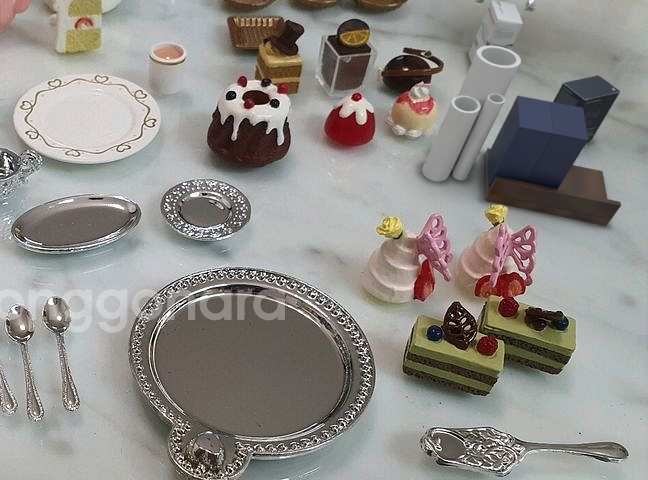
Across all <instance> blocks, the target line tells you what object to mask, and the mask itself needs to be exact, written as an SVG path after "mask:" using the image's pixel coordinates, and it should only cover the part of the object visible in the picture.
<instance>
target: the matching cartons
mask: <svg viewBox="0 0 648 480" xmlns="http://www.w3.org/2000/svg"><path fill="white" fill-rule="evenodd" d="M493 141H494V142H493V144H492V145H491V146H490V147H491V148H490V151H489V153H488V186H491V185H492V183H493V181H494V179H495V177H496V176H497V177H502V178H507V179H512V180H517V181H522V182H527V183H531V184H536V185H541V186H546V187H551V188H556V189H558V188H559V186H560V185H561V183H562V182H563V180H564V178H565V177H566V175H567V173H568V172H569V170H570V169H571V167H572V165H575V162H576V161H577V159H578V157H579V156H580V154H581V153H582V151H583V150H584V148H585V146H586V145H587V143H588V142H589V141H588V136H587V130H586V124H585V118H584V111H583V108H582V107H576V106H571V105H566V104H560V103H555V102H553V101H548V100H543V99H539V98H533V97H528V96H522V95H517V96H516V98H515V100H514V102H513V104H512V105H511V108H510V110H509V111H508V114H507V116H506V118H505V120H504V121H503V124H502V125H501V128H500V130H499V131H498V133H497V136H496V137H495V140H493ZM587 141H588V142H587Z"/></svg>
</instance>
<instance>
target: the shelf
mask: <svg viewBox="0 0 648 480" xmlns="http://www.w3.org/2000/svg"><path fill="white" fill-rule="evenodd" d="M490 149H491V148H489V147H488V148H486V150H485V152H484V155H483V156H484V158H483V159H484V162H483V163H484V201H487V202H490V203H496V204H501V205H504V206H510V207H515V208H519V209H524V210H529V211H533V212H538V213H543V214H546V215H547V214H548V215H552V216H555V217H562V218H567V219H571V220H575V221H576V220H577V221H580V222H586V223H590V224H594V225H599V226H603V227H604V226H605V227H607V226H608V225H609V223H610V222H611V221H612V219H613V218H614V216H615V215H616V214H617V213H618V211H619V209H620V208H621V207H622V202H621V201H619V200H613V199H609V198H608V194H607V188H606V183H605V178H604V171H603V170H600V169H595V168H589V167H584V166H579V165H575V164H573V165H572V167H571V169H570V170H569V172H568V173H567V175H566V177H565V178H564V180H563V182H562V183H561V185H560V186H559V188H558V189H556V188H551V187H546V186H541V185H536V184H531V183H527V182H522V181H517V180H512V179H507V178H502V177H497V176H496V177H495V179H494V181H493V183H492V185H491V186H488V153H489V151H490Z"/></svg>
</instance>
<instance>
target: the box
mask: <svg viewBox="0 0 648 480" xmlns="http://www.w3.org/2000/svg"><path fill="white" fill-rule="evenodd" d="M620 93H621V90H620V89H618V88H617V87H616V86H614V85H613V84H611V83H610V82H609V81H607V80H606V79H605V78H603V77H602V76H600V75H598V74H597V75H593V76H588V77H584V78H579V79H575V80H570V81H565V82H562V84H561V86H560V88H559V90H558V92H557V93H556V96H555V97H554V99H553V101H552V102H555V103H560V104H566V105H571V106H576V107H582V108H583V111H584V118H585V124H586V130H587V136H588V141H587V143H588V142H591V141H592V140H593V138H594V137H595V135H596V133H597V131H598V130H599V128H601V125H602V123H603V122H604V120H605V118H606V117H607V116H608V113H609V111H610V110H611V109H612V107H613V105H614V103H615V101H616V100H617V99H618V97H619V95H620Z"/></svg>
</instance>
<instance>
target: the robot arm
mask: <svg viewBox="0 0 648 480" xmlns="http://www.w3.org/2000/svg"><path fill="white" fill-rule="evenodd" d="M484 2H485V0H474V3H475V4H483V3H484ZM538 2H539V0H527V1H526V2H525V7H524V11H525V12H530V13H532V12H534V11H535V10H536V7H537V4H538Z"/></svg>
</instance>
